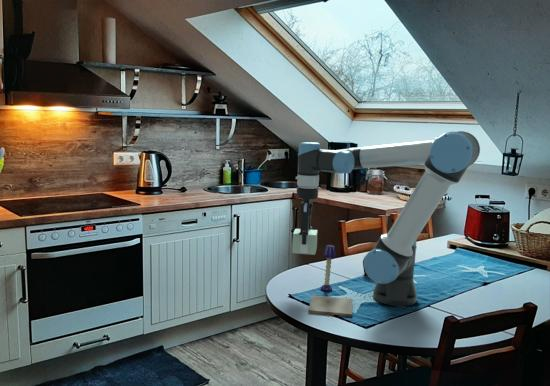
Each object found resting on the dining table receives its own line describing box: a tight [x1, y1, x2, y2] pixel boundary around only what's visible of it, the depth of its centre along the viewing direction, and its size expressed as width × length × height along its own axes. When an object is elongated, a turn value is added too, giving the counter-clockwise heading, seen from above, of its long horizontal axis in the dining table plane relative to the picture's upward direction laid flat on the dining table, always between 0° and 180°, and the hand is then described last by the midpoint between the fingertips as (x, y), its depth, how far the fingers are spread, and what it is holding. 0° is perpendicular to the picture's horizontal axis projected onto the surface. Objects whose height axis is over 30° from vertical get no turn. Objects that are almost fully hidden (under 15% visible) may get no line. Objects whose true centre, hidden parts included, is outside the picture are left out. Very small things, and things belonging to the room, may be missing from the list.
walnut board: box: [308, 294, 353, 318], centre depth 183 cm, size 14×14×1 cm
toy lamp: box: [320, 244, 337, 292], centre depth 198 cm, size 5×5×17 cm
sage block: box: [291, 228, 318, 256], centre depth 194 cm, size 8×8×7 cm
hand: (304, 249), depth 194 cm, fingers closed on sage block, 8 cm apart
